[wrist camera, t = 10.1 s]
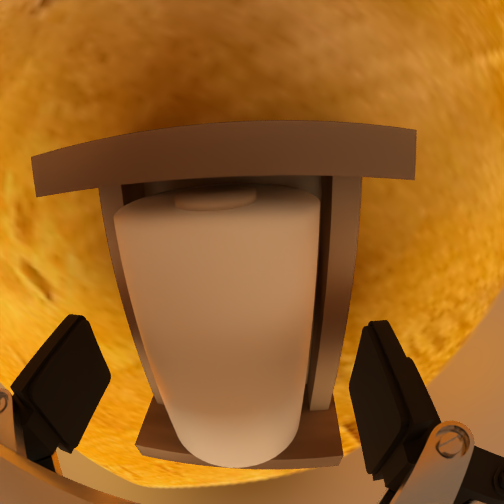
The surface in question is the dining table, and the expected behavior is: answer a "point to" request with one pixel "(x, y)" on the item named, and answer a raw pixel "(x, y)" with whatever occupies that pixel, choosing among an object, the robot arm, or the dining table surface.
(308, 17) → the dining table surface
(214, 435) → the roll
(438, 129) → the dining table surface
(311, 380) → the cradle
